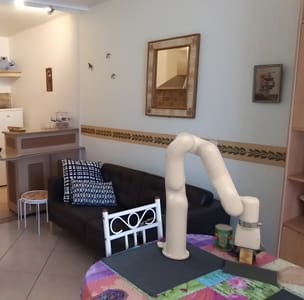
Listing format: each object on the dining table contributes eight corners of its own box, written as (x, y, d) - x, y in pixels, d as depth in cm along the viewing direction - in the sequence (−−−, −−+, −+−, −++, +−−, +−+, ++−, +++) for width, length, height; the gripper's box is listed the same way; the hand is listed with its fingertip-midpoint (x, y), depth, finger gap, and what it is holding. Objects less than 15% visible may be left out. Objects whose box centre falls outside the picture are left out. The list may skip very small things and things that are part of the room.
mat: (222, 272, 140) (222, 271, 140) (226, 260, 150) (226, 260, 150) (277, 285, 129) (277, 284, 129) (276, 271, 139) (277, 271, 139)
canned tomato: (234, 250, 159) (235, 230, 157) (218, 251, 159) (219, 230, 157) (226, 243, 167) (227, 224, 165) (211, 244, 167) (212, 224, 165)
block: (239, 261, 148) (239, 251, 147) (240, 257, 152) (240, 247, 151) (251, 264, 145) (252, 254, 145) (252, 260, 149) (253, 250, 149)
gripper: (270, 224, 144) (267, 261, 147) (228, 217, 154) (226, 252, 156) (270, 230, 138) (267, 269, 141) (226, 222, 148) (224, 259, 150)
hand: (245, 260), depth 149 cm, fingers closed on block, 5 cm apart
